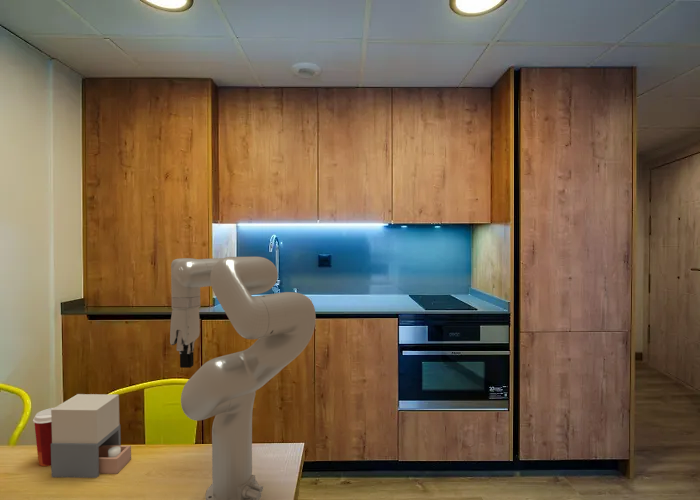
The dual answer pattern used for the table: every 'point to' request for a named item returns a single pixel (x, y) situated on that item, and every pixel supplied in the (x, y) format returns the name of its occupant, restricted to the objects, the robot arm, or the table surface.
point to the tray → (113, 458)
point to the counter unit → (83, 433)
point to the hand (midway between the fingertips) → (186, 366)
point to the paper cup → (43, 436)
